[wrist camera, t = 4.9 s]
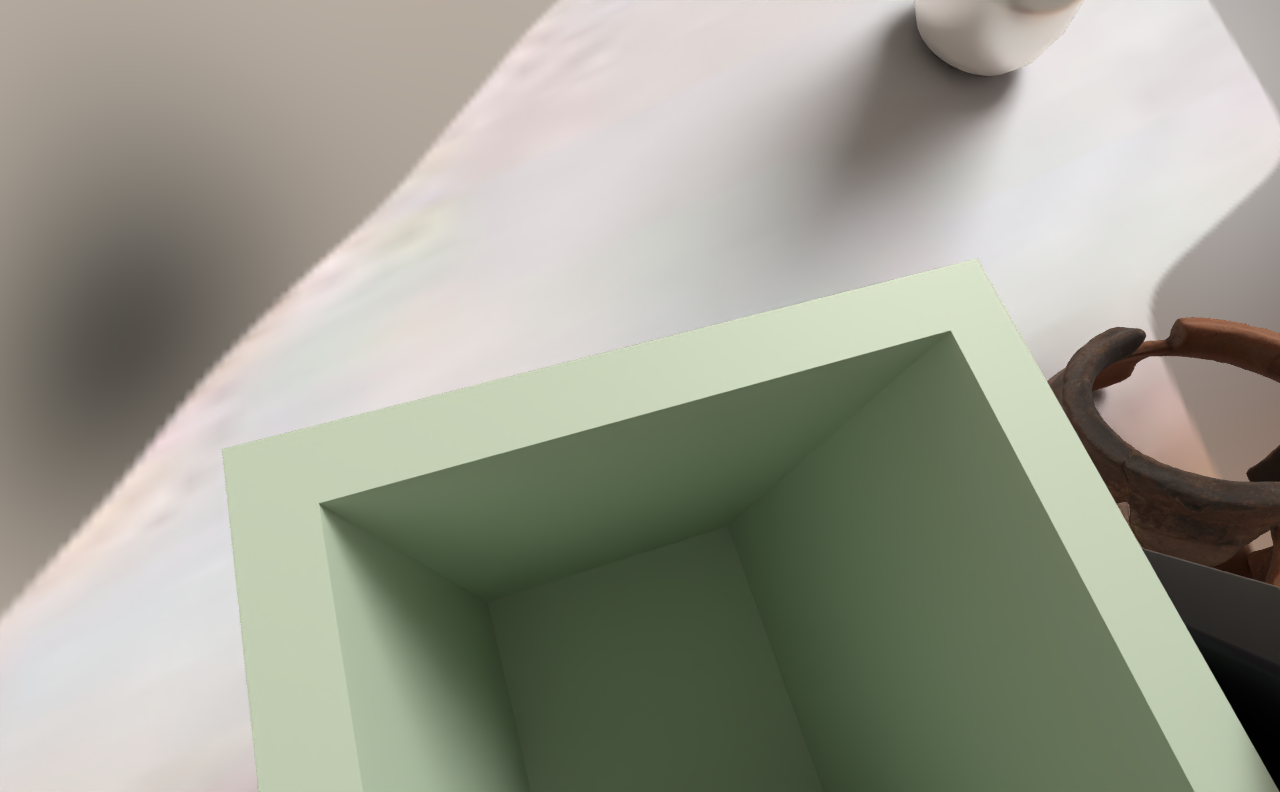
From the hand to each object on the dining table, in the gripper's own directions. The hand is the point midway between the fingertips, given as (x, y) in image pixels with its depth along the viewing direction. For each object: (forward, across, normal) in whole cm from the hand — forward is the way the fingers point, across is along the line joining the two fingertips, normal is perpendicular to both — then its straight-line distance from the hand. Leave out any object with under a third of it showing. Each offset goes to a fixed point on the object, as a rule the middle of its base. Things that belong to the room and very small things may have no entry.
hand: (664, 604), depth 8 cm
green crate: (+4, 0, +6) cm, 7 cm away
